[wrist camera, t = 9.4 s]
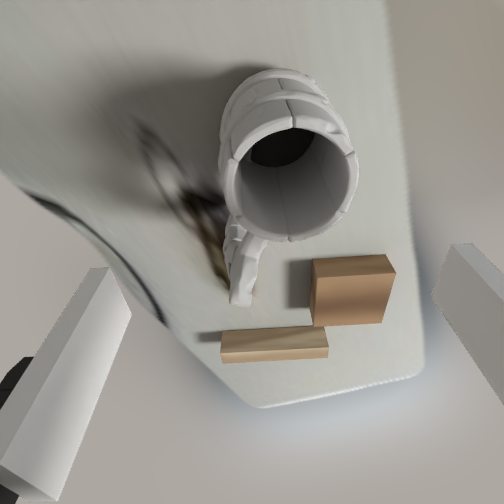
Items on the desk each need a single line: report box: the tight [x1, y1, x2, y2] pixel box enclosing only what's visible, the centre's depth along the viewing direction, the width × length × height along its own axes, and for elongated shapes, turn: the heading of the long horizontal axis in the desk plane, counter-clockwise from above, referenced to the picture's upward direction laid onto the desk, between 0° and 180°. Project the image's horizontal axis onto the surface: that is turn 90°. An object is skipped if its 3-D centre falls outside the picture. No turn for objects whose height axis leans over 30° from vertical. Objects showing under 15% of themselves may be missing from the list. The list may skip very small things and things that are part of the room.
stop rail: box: [220, 326, 329, 363], centre depth 35 cm, size 2×12×3 cm, turn 94°
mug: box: [218, 69, 359, 307], centre depth 18 cm, size 8×12×12 cm, turn 156°
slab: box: [310, 254, 396, 327], centre depth 31 cm, size 7×7×3 cm
